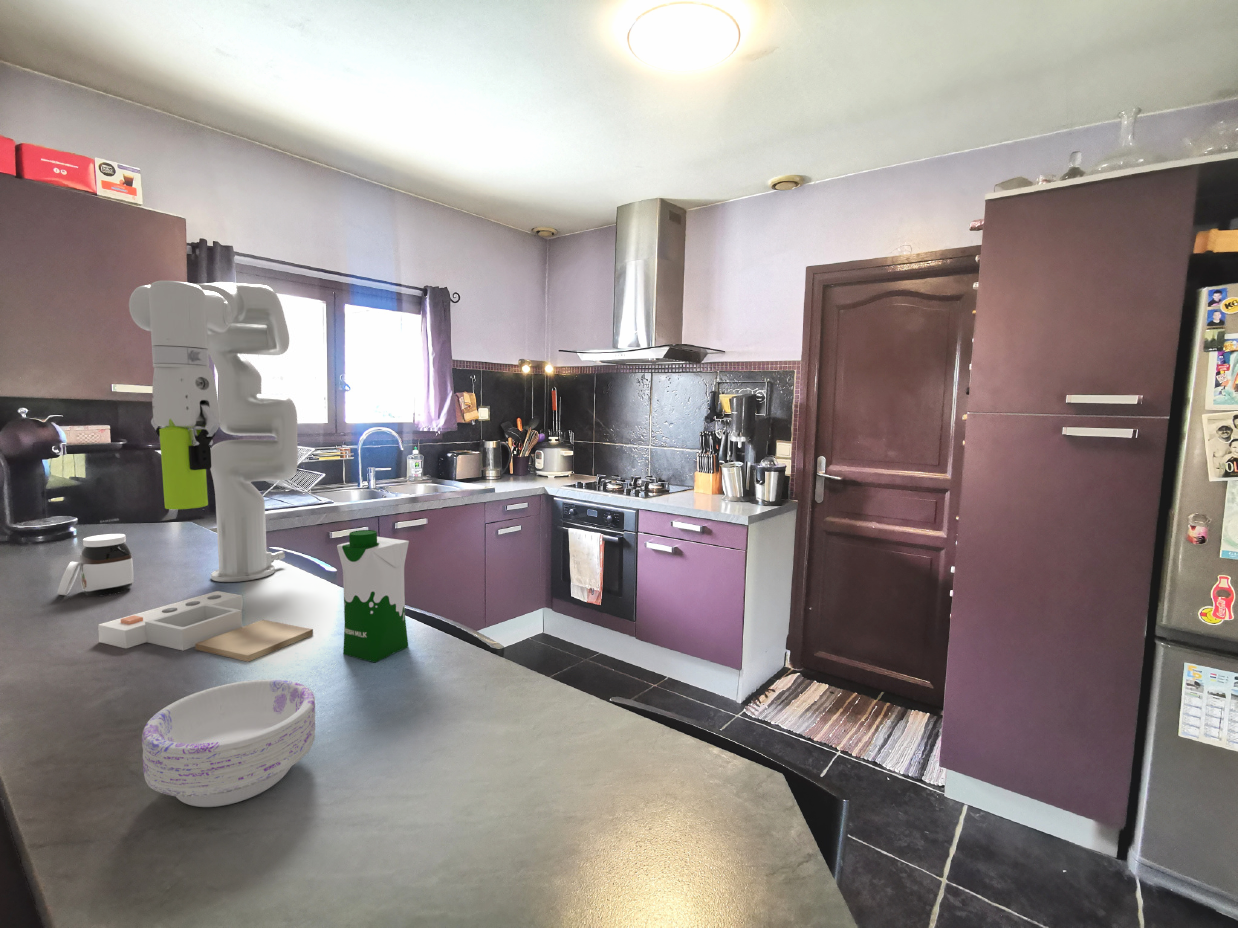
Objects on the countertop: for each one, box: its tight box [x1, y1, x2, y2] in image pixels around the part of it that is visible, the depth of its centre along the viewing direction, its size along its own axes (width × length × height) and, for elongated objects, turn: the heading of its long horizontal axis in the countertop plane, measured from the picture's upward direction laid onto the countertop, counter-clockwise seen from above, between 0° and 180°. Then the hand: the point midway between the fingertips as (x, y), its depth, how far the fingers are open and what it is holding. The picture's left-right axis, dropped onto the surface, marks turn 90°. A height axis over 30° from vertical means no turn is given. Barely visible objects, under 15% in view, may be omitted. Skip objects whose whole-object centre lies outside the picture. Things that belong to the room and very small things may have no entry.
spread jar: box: [57, 533, 134, 597], centre depth 124 cm, size 12×11×12 cm
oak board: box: [194, 619, 314, 662], centre depth 99 cm, size 12×12×1 cm
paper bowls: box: [141, 678, 316, 808], centre depth 63 cm, size 15×15×8 cm
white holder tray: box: [97, 590, 244, 652], centre depth 105 cm, size 20×16×4 cm
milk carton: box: [336, 529, 410, 663], centre depth 96 cm, size 9×9×20 cm
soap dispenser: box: [159, 419, 209, 510], centre depth 99 cm, size 6×7×20 cm
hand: (187, 467), depth 99 cm, fingers closed on soap dispenser, 5 cm apart
